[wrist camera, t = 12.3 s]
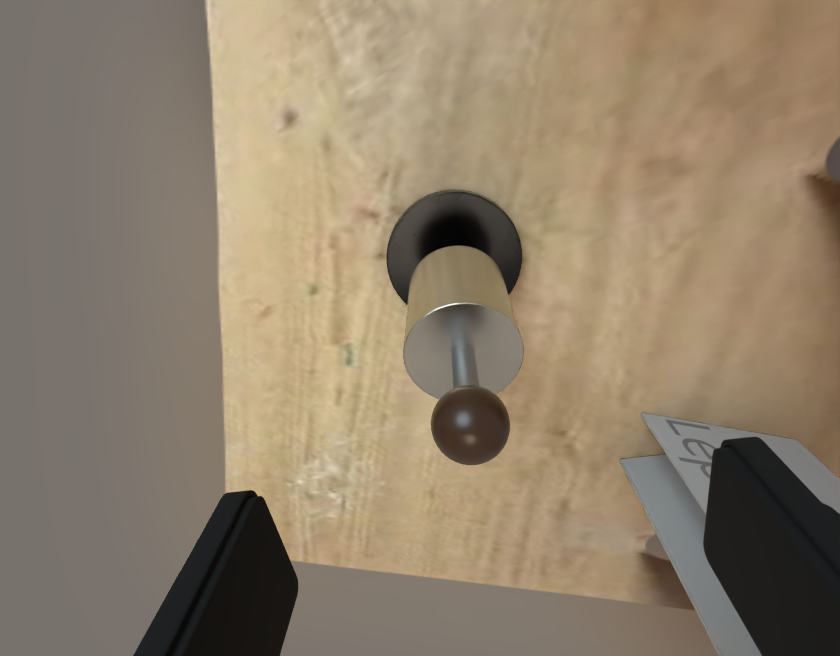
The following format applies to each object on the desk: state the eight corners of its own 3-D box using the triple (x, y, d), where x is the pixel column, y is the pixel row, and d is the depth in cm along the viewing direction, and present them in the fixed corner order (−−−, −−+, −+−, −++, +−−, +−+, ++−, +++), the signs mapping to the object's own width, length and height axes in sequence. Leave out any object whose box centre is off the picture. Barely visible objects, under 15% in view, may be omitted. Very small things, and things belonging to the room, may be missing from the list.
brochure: (797, 439, 42) (1457, 1050, 15) (767, 486, 44) (1289, 1089, 17) (642, 412, 41) (1029, 994, 14) (619, 461, 44) (916, 1043, 17)
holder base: (524, 307, 38) (537, 337, 33) (401, 325, 39) (395, 356, 34) (513, 178, 34) (525, 190, 29) (375, 202, 35) (365, 217, 30)
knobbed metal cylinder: (555, 498, 19) (549, 380, 16) (410, 512, 20) (378, 401, 17) (502, 304, 34) (494, 222, 31) (419, 316, 34) (403, 237, 31)
